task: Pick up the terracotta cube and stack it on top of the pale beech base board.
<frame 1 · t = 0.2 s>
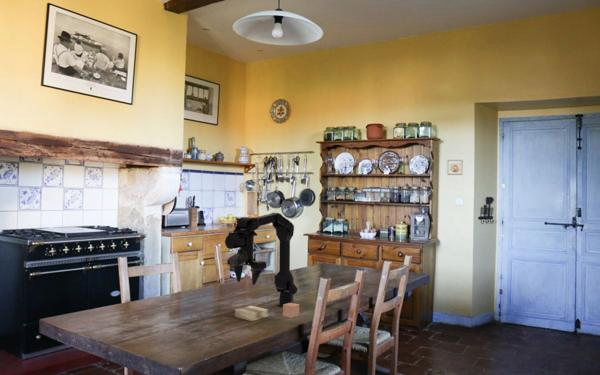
hand: (246, 283, 207), 14 cm above the table, fingers open, 9 cm apart
cube: (291, 316, 209), on the table
base: (251, 316, 206), on the table
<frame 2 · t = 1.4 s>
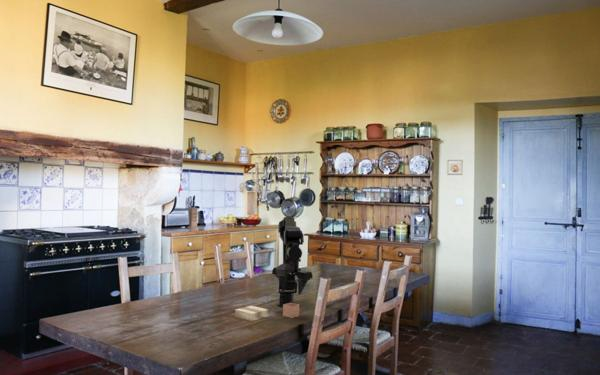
hand: (291, 292, 209), 10 cm above the table, fingers open, 9 cm apart
nothing on the table moved.
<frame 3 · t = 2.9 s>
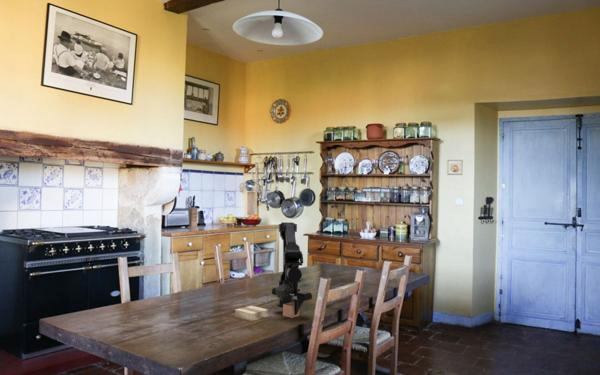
hand: (291, 313, 209), 1 cm above the table, fingers closed on cube, 5 cm apart
cube: (291, 315, 209), on the table, touching gripper
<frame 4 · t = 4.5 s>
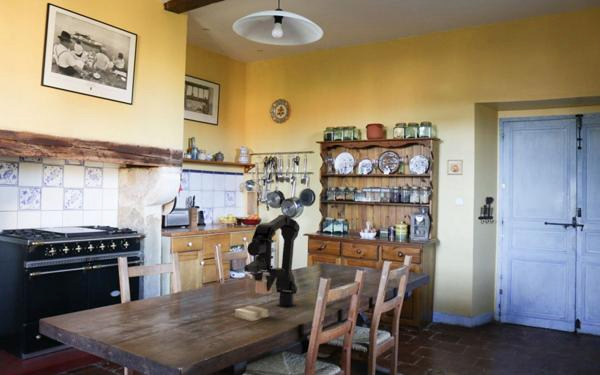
hand: (263, 290, 207), 11 cm above the table, fingers closed on cube, 5 cm apart
cube: (263, 292, 207), point 10 cm above the table, touching gripper
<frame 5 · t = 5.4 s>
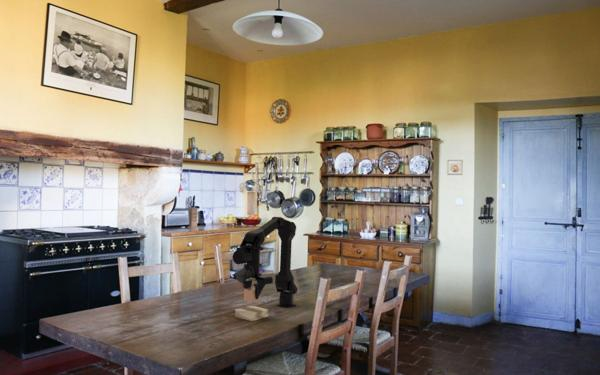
hand: (252, 298, 206), 8 cm above the table, fingers closed on cube, 5 cm apart
cube: (252, 300, 206), point 7 cm above the table, touching gripper
when the fingers open (5 cm above the table, at t = 6.2 s): cube drops 1 cm, resting on base.
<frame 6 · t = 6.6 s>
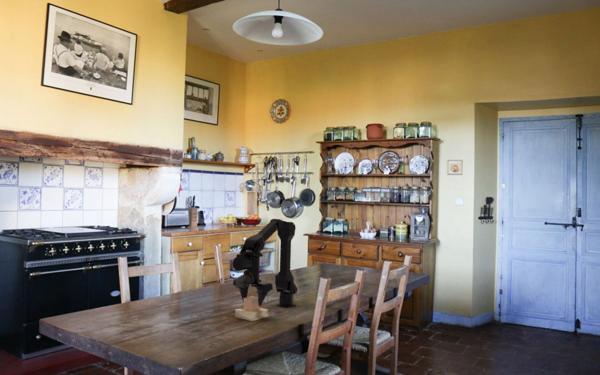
hand: (252, 304, 206), 5 cm above the table, fingers open, 9 cm apart
cube: (251, 309, 206), point 3 cm above the table, touching base
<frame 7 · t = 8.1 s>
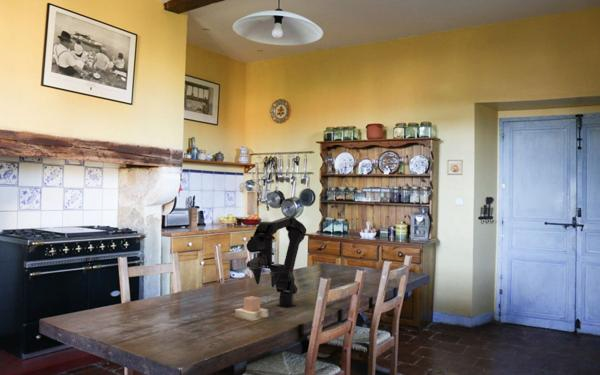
hand: (265, 285, 214), 12 cm above the table, fingers open, 9 cm apart
nothing on the table moved.
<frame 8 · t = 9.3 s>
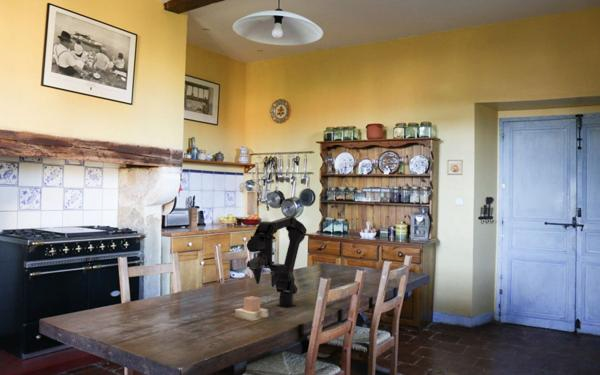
hand: (265, 285, 214), 12 cm above the table, fingers open, 9 cm apart
nothing on the table moved.
at the end: cube inside the target area on the base (0.0 cm from its centre), point 3.0 cm above the base's base; cube tilted 0°; the gripper is holding nothing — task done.
